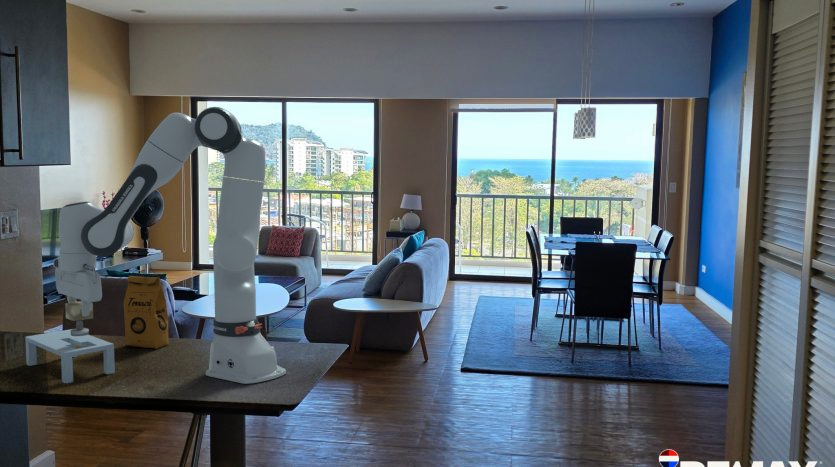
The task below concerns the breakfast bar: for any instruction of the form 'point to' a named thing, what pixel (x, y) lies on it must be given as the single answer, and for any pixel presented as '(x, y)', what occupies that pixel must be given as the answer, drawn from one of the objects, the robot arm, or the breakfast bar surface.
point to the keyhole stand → (69, 350)
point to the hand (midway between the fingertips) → (79, 314)
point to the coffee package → (145, 313)
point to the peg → (78, 317)
